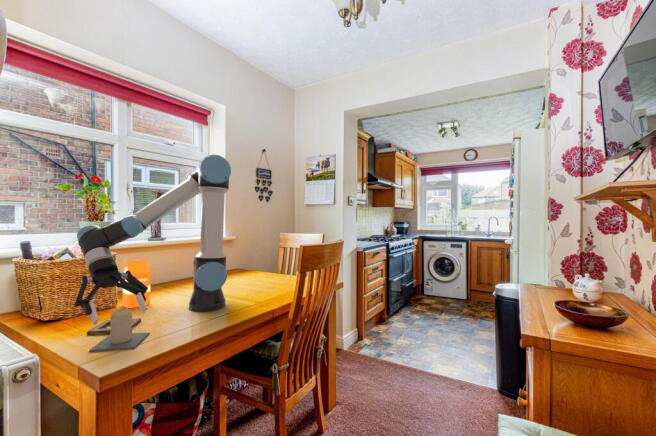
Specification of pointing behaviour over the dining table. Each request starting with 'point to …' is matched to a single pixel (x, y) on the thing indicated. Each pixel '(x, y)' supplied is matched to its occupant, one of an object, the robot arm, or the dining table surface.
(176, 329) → the dining table surface
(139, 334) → the charcoal mat
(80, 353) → the dining table surface
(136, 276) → the orange juice
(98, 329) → the grey square frame
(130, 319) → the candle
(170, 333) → the dining table surface
